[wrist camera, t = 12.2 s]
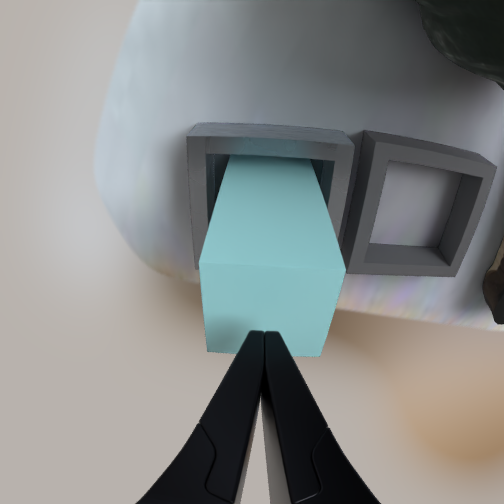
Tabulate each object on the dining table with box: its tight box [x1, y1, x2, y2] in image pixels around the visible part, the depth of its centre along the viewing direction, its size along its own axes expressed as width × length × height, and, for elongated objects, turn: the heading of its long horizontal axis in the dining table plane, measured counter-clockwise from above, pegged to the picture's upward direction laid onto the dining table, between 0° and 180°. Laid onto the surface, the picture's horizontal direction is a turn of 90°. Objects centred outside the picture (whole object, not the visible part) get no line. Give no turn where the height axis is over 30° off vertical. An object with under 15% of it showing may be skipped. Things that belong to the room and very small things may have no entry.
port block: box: [187, 123, 355, 269], centre depth 16 cm, size 7×7×2 cm
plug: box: [199, 154, 346, 357], centre depth 13 cm, size 4×4×9 cm
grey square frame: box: [341, 130, 497, 277], centre depth 16 cm, size 8×8×2 cm
